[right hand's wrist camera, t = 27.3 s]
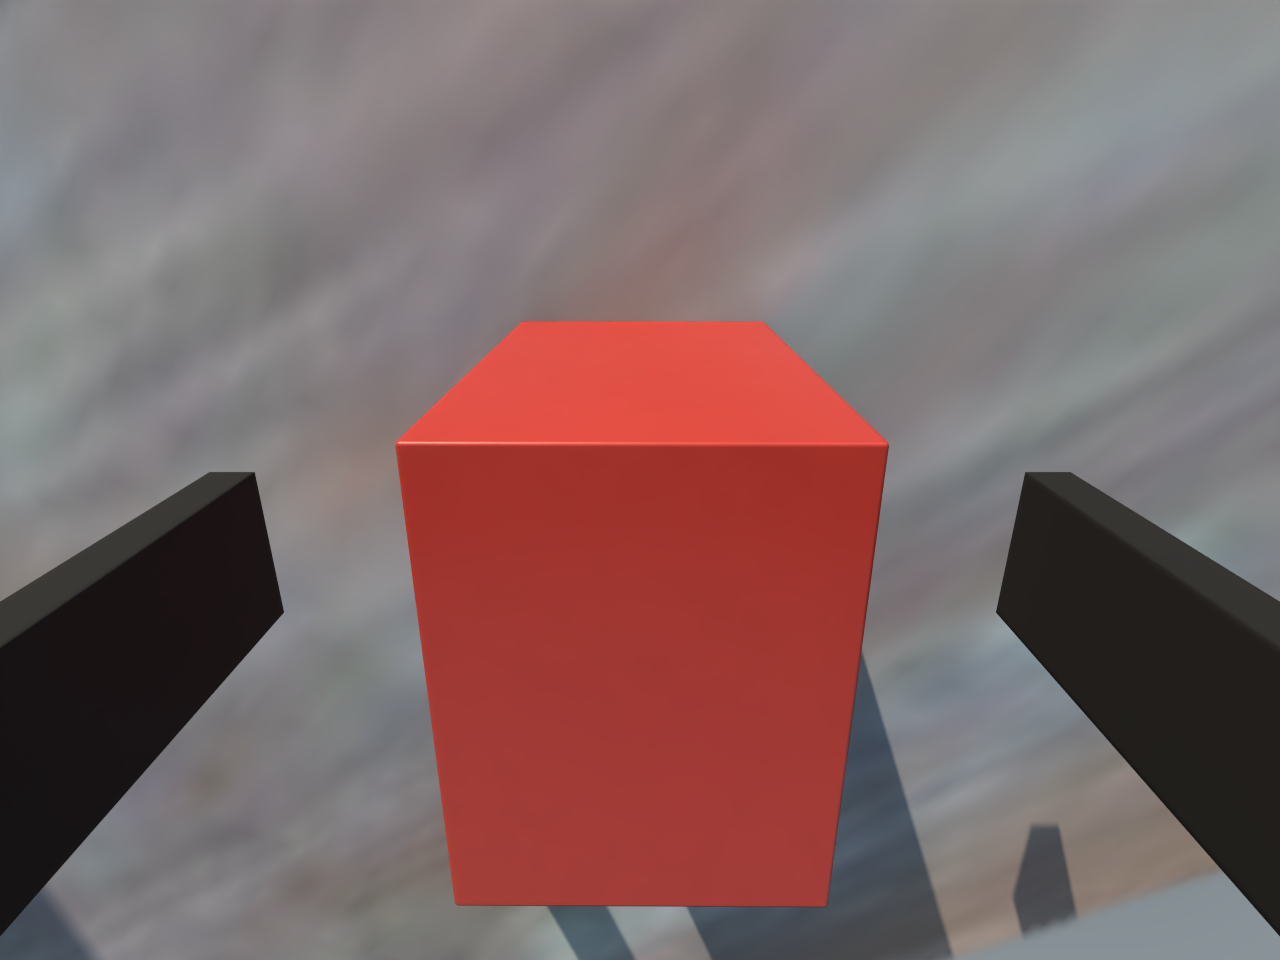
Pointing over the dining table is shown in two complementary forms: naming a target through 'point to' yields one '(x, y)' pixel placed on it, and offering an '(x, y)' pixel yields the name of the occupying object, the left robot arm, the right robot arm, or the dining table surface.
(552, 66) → the dining table surface
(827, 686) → the brick
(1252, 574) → the dining table surface
